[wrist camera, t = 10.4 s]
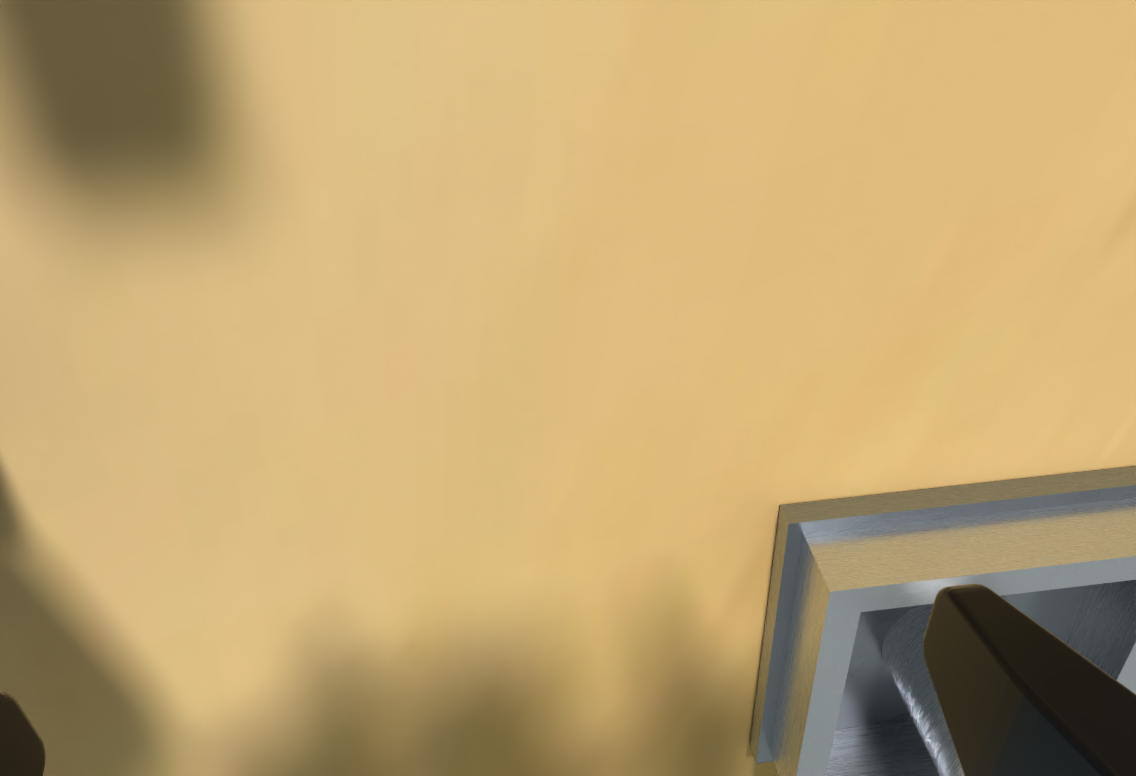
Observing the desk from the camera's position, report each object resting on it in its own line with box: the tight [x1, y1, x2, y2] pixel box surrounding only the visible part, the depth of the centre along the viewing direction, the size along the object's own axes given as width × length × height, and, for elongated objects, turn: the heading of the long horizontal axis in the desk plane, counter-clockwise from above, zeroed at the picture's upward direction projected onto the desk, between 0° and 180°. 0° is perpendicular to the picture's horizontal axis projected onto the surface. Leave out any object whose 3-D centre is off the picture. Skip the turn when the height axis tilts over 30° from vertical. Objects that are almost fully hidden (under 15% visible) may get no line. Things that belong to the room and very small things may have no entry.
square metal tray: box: [750, 466, 1136, 776], centre depth 29 cm, size 12×12×3 cm
